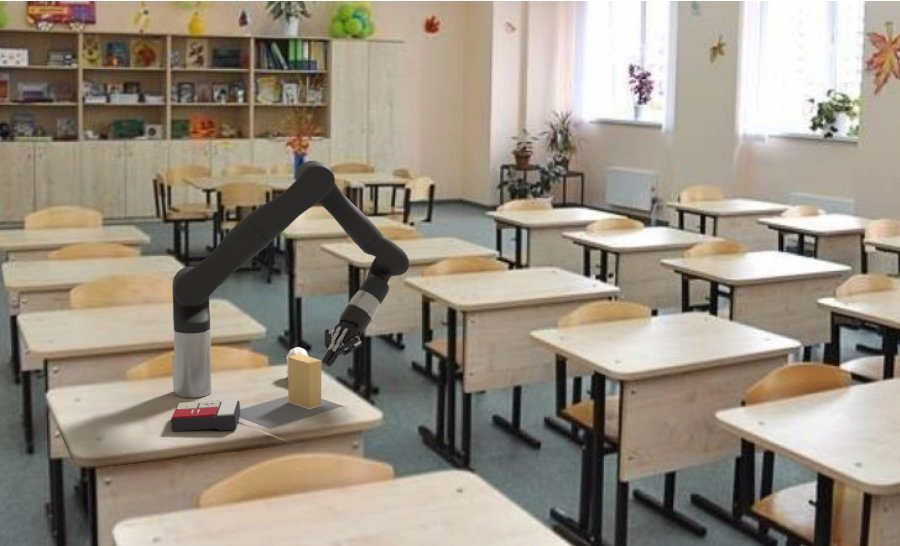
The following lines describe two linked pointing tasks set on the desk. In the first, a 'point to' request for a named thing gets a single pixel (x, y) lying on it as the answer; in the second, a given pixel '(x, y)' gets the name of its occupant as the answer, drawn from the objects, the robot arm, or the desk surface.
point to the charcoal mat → (282, 412)
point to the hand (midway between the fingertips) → (325, 364)
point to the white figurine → (295, 352)
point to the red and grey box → (206, 415)
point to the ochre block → (304, 381)
